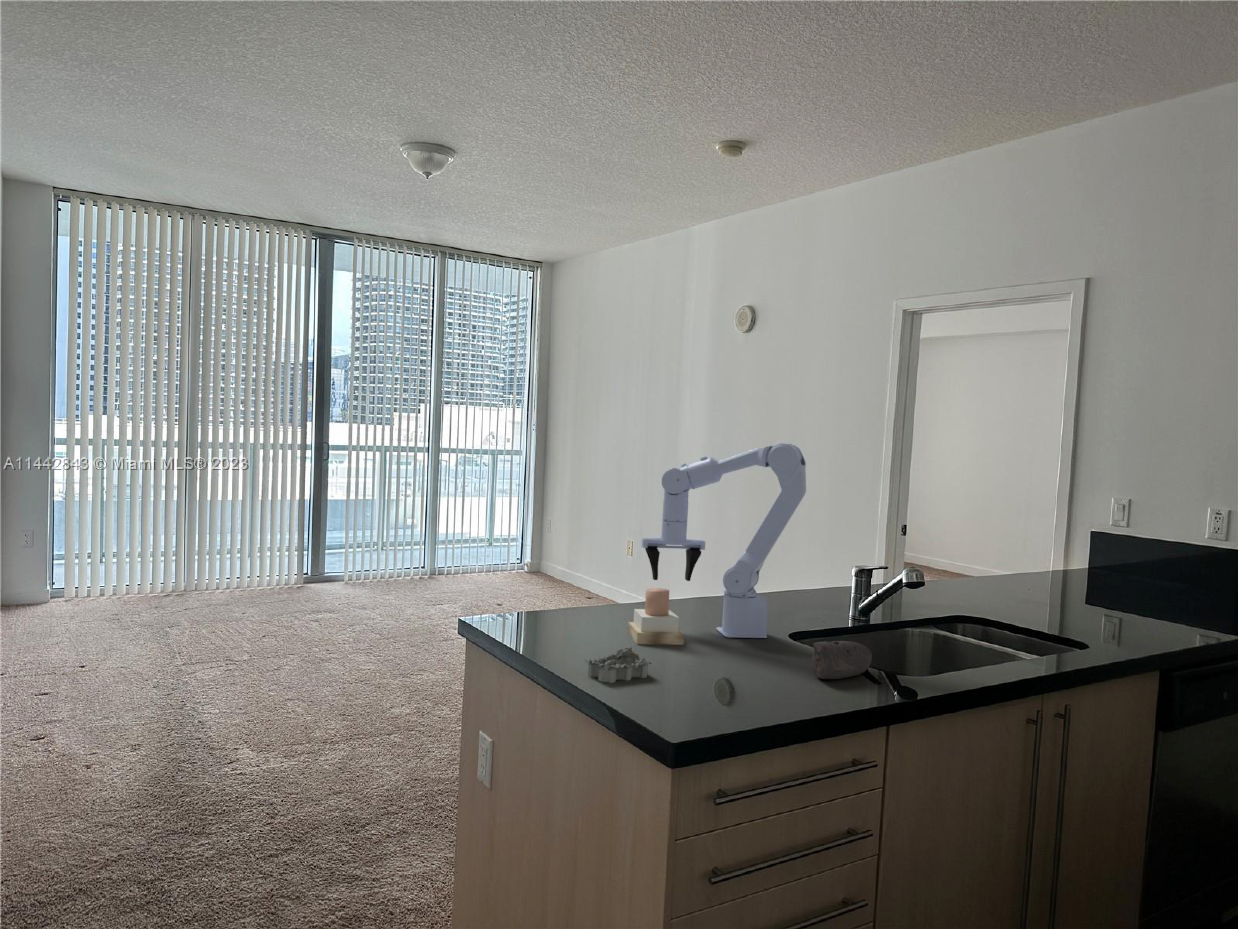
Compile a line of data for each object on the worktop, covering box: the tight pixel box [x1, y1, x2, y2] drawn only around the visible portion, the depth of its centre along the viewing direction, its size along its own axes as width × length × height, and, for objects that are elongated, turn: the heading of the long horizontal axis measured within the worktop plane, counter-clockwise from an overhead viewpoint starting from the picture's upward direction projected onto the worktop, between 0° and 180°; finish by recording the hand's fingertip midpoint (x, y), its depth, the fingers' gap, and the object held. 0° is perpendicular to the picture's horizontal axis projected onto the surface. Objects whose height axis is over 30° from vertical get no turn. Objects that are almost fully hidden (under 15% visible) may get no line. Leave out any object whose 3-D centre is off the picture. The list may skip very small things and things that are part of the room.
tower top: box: [633, 608, 680, 632], centre depth 176 cm, size 8×8×3 cm
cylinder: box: [644, 587, 670, 616], centre depth 175 cm, size 5×5×5 cm
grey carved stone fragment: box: [584, 647, 653, 684], centre depth 147 cm, size 11×8×4 cm
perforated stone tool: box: [811, 640, 873, 680], centre depth 154 cm, size 15×5×7 cm, turn 119°
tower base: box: [627, 621, 685, 646], centre depth 176 cm, size 10×10×3 cm
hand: (671, 579), depth 189 cm, fingers open, 7 cm apart
